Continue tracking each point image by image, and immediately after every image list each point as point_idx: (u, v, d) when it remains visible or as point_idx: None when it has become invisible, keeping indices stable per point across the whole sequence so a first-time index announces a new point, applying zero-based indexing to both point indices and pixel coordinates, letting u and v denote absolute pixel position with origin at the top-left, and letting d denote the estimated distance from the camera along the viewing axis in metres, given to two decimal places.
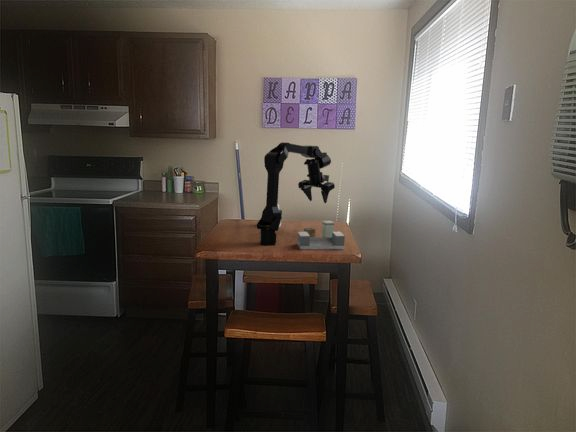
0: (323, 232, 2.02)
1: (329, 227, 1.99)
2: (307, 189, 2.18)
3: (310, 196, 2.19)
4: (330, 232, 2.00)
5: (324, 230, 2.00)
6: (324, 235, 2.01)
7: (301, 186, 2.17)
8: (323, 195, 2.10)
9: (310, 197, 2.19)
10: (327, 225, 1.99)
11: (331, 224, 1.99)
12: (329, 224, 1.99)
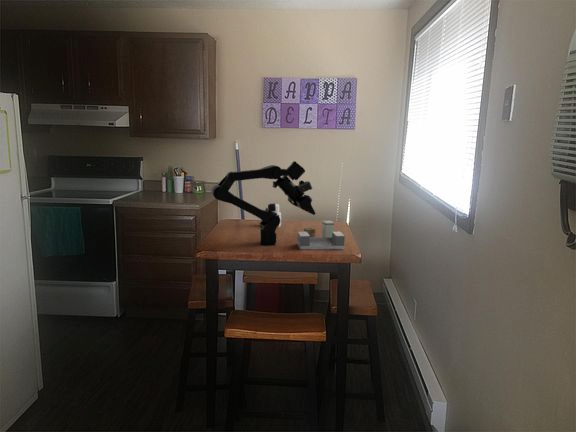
0: (323, 232, 2.02)
1: (329, 227, 1.99)
2: (297, 202, 2.01)
3: None
4: (330, 232, 2.00)
5: (324, 230, 2.00)
6: (324, 235, 2.01)
7: (290, 202, 2.02)
8: (305, 210, 1.91)
9: None
10: (326, 225, 1.99)
11: (331, 224, 1.99)
12: (329, 224, 1.99)
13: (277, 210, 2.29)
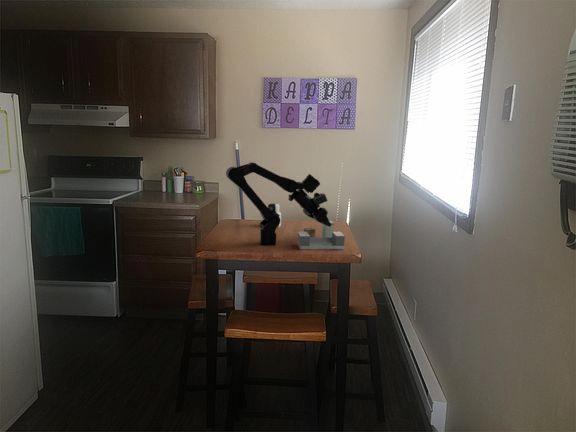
0: (323, 232, 2.02)
1: (329, 227, 1.99)
2: (312, 214, 2.04)
3: None
4: (330, 232, 2.00)
5: (324, 230, 2.00)
6: (324, 235, 2.01)
7: (305, 214, 2.05)
8: (321, 222, 1.94)
9: None
10: None
11: (331, 224, 1.99)
12: None
13: (277, 210, 2.29)
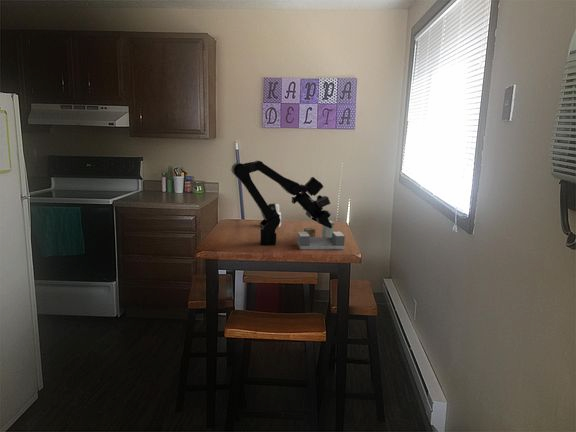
0: (323, 232, 2.02)
1: None
2: None
3: None
4: (330, 232, 2.00)
5: (324, 230, 2.00)
6: (324, 235, 2.01)
7: (308, 216, 2.05)
8: (322, 224, 1.97)
9: None
10: None
11: (331, 224, 1.99)
12: None
13: (277, 210, 2.29)
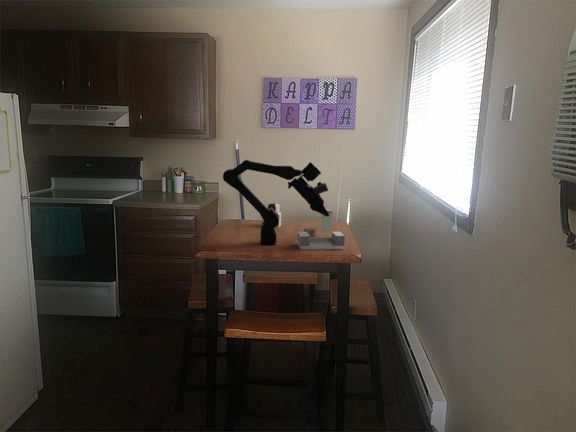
0: (321, 220, 1.94)
1: None
2: None
3: None
4: (327, 220, 1.91)
5: (322, 218, 1.92)
6: (321, 223, 1.93)
7: None
8: None
9: None
10: None
11: (329, 212, 1.91)
12: None
13: (277, 210, 2.29)
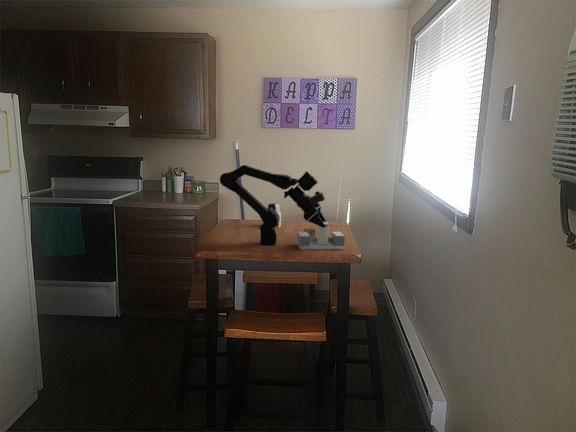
0: None
1: (323, 228, 1.88)
2: None
3: (322, 219, 1.94)
4: (323, 234, 1.89)
5: None
6: (318, 237, 1.90)
7: None
8: (312, 222, 1.85)
9: (322, 220, 1.94)
10: (319, 226, 1.88)
11: None
12: None
13: (277, 210, 2.29)
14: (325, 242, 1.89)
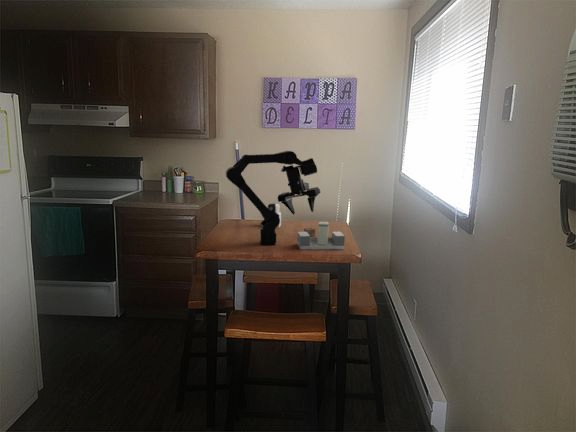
0: None
1: (323, 228, 1.88)
2: (288, 201, 1.96)
3: (292, 209, 1.97)
4: (323, 234, 1.89)
5: None
6: (318, 237, 1.90)
7: (282, 199, 1.94)
8: (310, 202, 1.90)
9: (293, 210, 1.97)
10: (319, 226, 1.88)
11: (324, 225, 1.88)
12: (322, 225, 1.88)
13: (277, 210, 2.29)
14: (325, 242, 1.89)
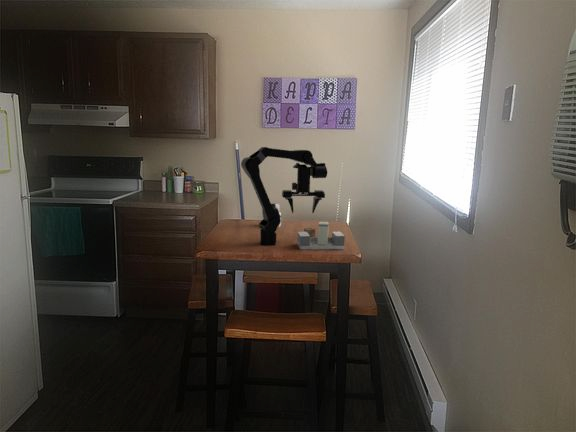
0: None
1: (323, 228, 1.88)
2: None
3: (292, 207, 1.98)
4: (323, 234, 1.89)
5: None
6: (318, 237, 1.90)
7: (289, 195, 1.93)
8: (316, 203, 1.96)
9: None
10: (319, 226, 1.88)
11: (324, 225, 1.88)
12: (322, 225, 1.88)
13: None
14: (325, 242, 1.89)
